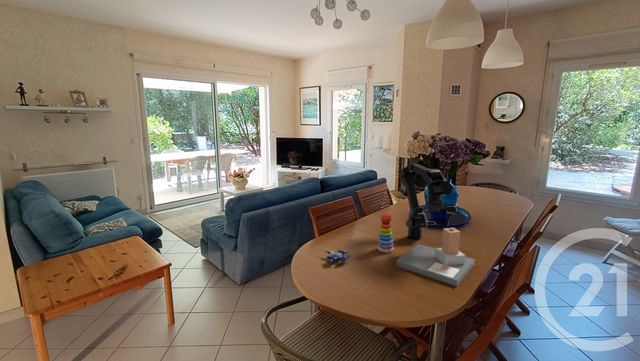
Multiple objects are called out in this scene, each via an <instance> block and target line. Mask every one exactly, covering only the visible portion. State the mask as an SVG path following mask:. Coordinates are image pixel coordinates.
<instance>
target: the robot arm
mask: <svg viewBox="0 0 640 361" xmlns="http://www.w3.org/2000/svg"><path fill="white" fill-rule="evenodd" d="M418 175H419V176H422V179H423V180H424V181H425V182H426V184H425V187H426V189H427V198H428V202H427V208H426V207H424V206H420V205H419V204H420V203H419V201H418V196H417V195H418V194H417V190H416V186H415V182H416V179H417V177H416V176H418ZM399 178H400V182H401V183H402V185H403V186H405V191H406V195H407V200H408V205H409V210H410V211H409V214H408V219H407V220H406V221H405V226H406V227H407V228H408V231H407V232H408V233H407V235H406V238H408V239H412V240H414V241H415V240H416V241H419V240H420V239H422V238H423V230H422V228H425V229H428V222H427V214H426V213H431V212H432V213H435V212H436V213H437V212H438V213H439V212H446V220H445V221H446V222H445V224H446V226H445V227H446V228H448V227H449V224H450V220H451V217H452V215H455V213H457V212H458V209H457V206H456V205H452V206H451V205H449V206H448V205H447V206H446V207H444V200H442V197H441V196H449V195H450V194H452V192H453V186H452V185H451V183H449V182H448V179H446V178H445V177H444V175H443V174H442V172H441V170H440V169H437V168H428V167H426V166H424V165H421V164H419V163H417V162H416V163H415V162H412V163H409V164H408V165H407V166H405V167H403V168H402V169H401V171H400V172H399Z"/></svg>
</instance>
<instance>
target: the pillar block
mask: <svg viewBox="0 0 640 361" xmlns="http://www.w3.org/2000/svg"><path fill="white" fill-rule="evenodd" d="M460 240H461V231H460V230H458V229H456V228H455V227H449V228H445V227H444V228H443V229H442V241H441V248H442V250H443V251H444V252H445V253H447V254H458V253H459V251H460Z"/></svg>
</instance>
